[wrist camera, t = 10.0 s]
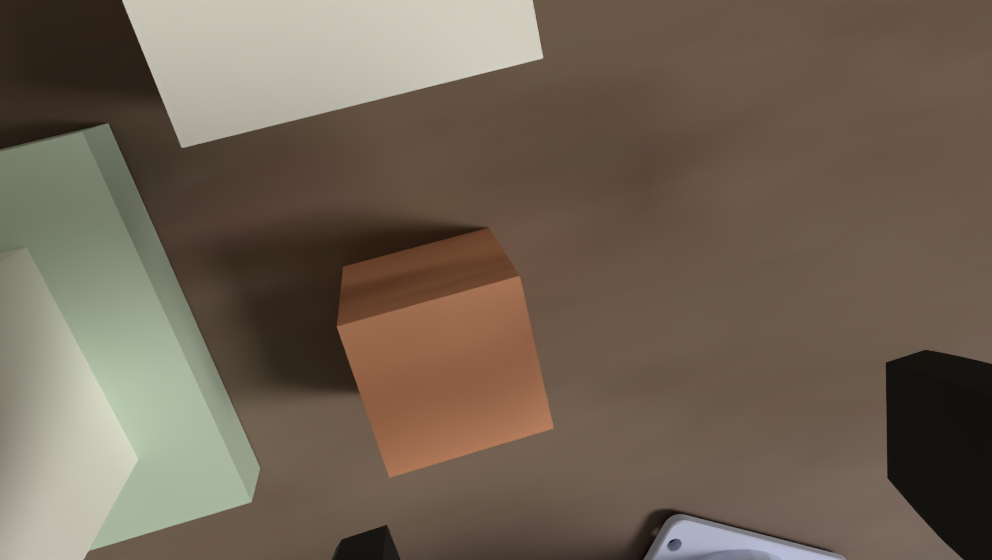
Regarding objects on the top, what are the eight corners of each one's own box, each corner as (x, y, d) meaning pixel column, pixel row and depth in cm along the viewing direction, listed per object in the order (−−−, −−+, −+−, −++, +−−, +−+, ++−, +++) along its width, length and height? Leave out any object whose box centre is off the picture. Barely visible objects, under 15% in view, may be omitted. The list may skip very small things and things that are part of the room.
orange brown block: (517, 353, 19) (553, 428, 16) (385, 392, 19) (389, 477, 15) (488, 226, 18) (519, 275, 14) (343, 265, 17) (336, 326, 14)
